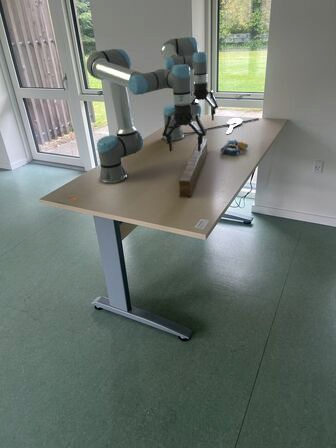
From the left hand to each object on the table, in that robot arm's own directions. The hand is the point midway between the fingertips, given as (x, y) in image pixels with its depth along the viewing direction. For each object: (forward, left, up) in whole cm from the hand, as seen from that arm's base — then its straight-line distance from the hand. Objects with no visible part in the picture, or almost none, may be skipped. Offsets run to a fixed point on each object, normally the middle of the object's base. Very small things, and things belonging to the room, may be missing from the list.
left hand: (185, 150), depth 157 cm
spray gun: (-27, +59, -22) cm, 69 cm away
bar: (-18, +20, -22) cm, 35 cm away
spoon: (-66, +96, -22) cm, 118 cm away
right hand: (-36, +40, 0) cm, 54 cm away
